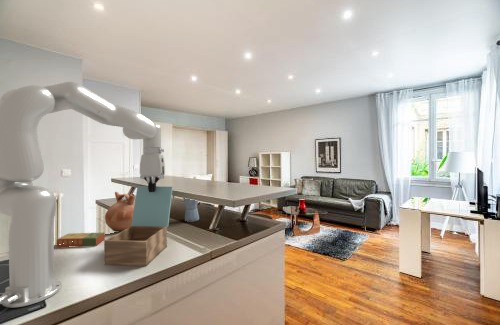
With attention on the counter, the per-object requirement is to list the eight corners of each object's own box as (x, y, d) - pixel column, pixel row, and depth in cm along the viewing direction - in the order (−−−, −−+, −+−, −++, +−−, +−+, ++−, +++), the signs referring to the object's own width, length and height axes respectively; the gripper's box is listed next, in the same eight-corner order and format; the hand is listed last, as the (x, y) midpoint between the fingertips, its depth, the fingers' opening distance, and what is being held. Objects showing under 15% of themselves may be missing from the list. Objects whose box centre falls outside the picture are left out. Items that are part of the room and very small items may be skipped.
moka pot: (177, 221, 142) (177, 189, 142) (196, 216, 155) (196, 186, 155) (187, 224, 137) (187, 190, 136) (206, 218, 150) (206, 187, 149)
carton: (68, 241, 109) (68, 232, 109) (105, 240, 111) (105, 231, 111) (56, 248, 101) (56, 238, 101) (96, 247, 103) (96, 237, 103)
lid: (172, 186, 108) (173, 187, 109) (137, 186, 109) (139, 186, 110) (167, 226, 103) (169, 226, 105) (131, 225, 104) (133, 225, 105)
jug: (97, 230, 124) (96, 193, 124) (128, 222, 140) (128, 189, 140) (118, 236, 116) (118, 196, 115) (149, 226, 132) (149, 191, 131)
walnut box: (146, 266, 85) (146, 242, 85) (104, 264, 86) (104, 240, 86) (166, 246, 103) (166, 226, 103) (132, 245, 104) (131, 225, 104)
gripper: (171, 151, 109) (171, 190, 109) (140, 151, 109) (140, 190, 110) (164, 151, 101) (164, 193, 102) (131, 151, 102) (131, 192, 102)
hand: (152, 191), depth 106 cm, fingers closed
